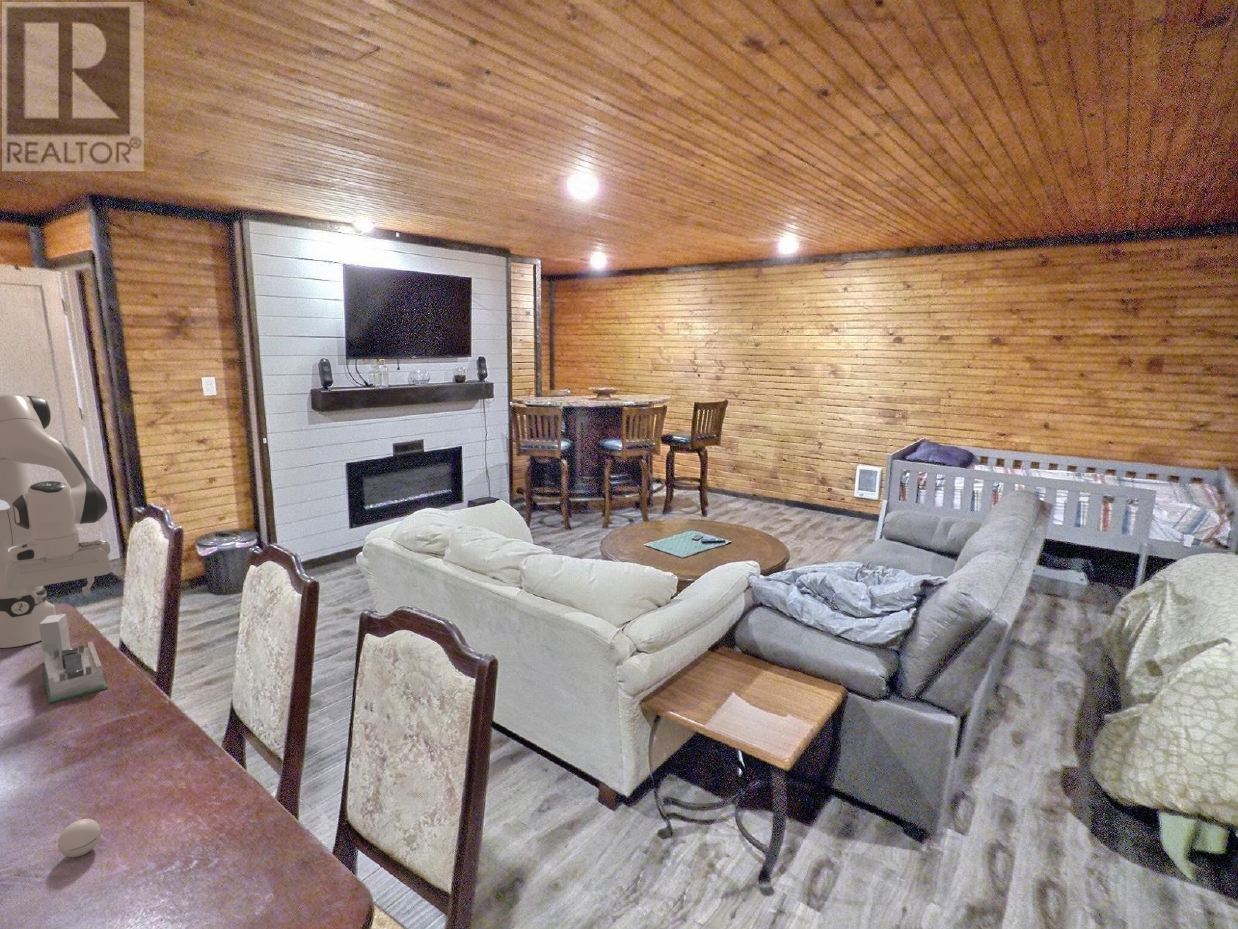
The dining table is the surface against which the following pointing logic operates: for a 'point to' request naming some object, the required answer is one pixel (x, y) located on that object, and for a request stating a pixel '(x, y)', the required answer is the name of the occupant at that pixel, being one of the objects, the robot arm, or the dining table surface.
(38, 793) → the dining table surface
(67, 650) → the strap
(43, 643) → the skincare box
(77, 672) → the strap
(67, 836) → the beige oval egg shape
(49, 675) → the fuse holder
